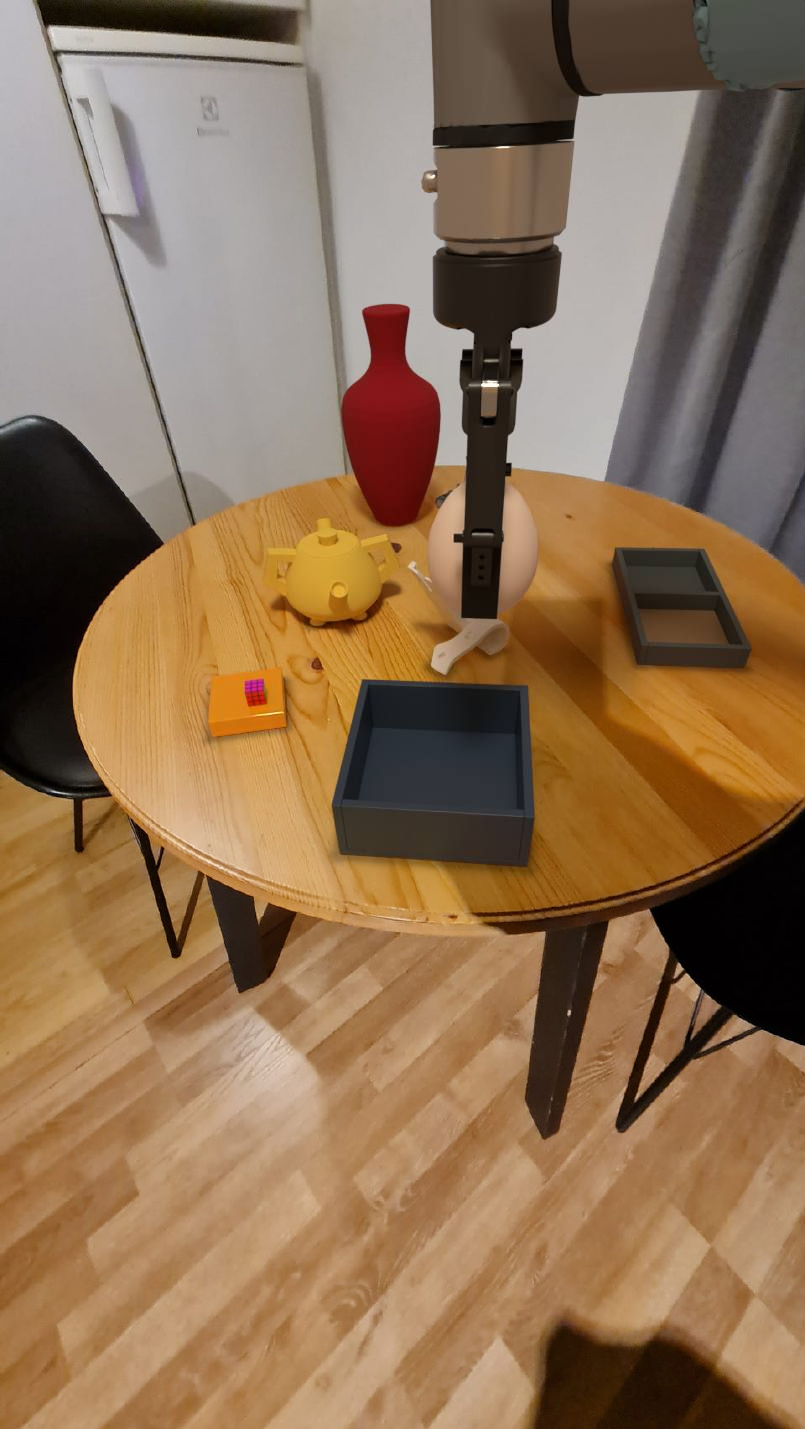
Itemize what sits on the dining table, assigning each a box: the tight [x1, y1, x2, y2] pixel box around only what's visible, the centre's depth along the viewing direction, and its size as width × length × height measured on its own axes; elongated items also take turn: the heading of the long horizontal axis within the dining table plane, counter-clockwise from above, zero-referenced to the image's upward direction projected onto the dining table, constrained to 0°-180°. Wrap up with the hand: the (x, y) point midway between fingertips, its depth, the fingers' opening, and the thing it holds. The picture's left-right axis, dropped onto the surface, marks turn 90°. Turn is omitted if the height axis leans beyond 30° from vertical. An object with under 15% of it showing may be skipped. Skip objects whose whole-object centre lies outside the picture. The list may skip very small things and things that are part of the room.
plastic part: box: [407, 560, 511, 676], centre depth 77 cm, size 8×10×12 cm
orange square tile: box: [207, 667, 288, 738], centre depth 72 cm, size 8×8×4 cm
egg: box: [426, 480, 540, 617], centre depth 51 cm, size 9×9×12 cm
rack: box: [611, 546, 753, 669], centre depth 84 cm, size 12×23×3 cm, turn 174°
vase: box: [340, 303, 442, 527], centre depth 98 cm, size 15×15×30 cm
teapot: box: [262, 518, 401, 627], centre depth 85 cm, size 20×18×11 cm
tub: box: [330, 678, 536, 868], centre depth 62 cm, size 17×17×7 cm
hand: (481, 583), depth 53 cm, fingers closed on egg, 9 cm apart
